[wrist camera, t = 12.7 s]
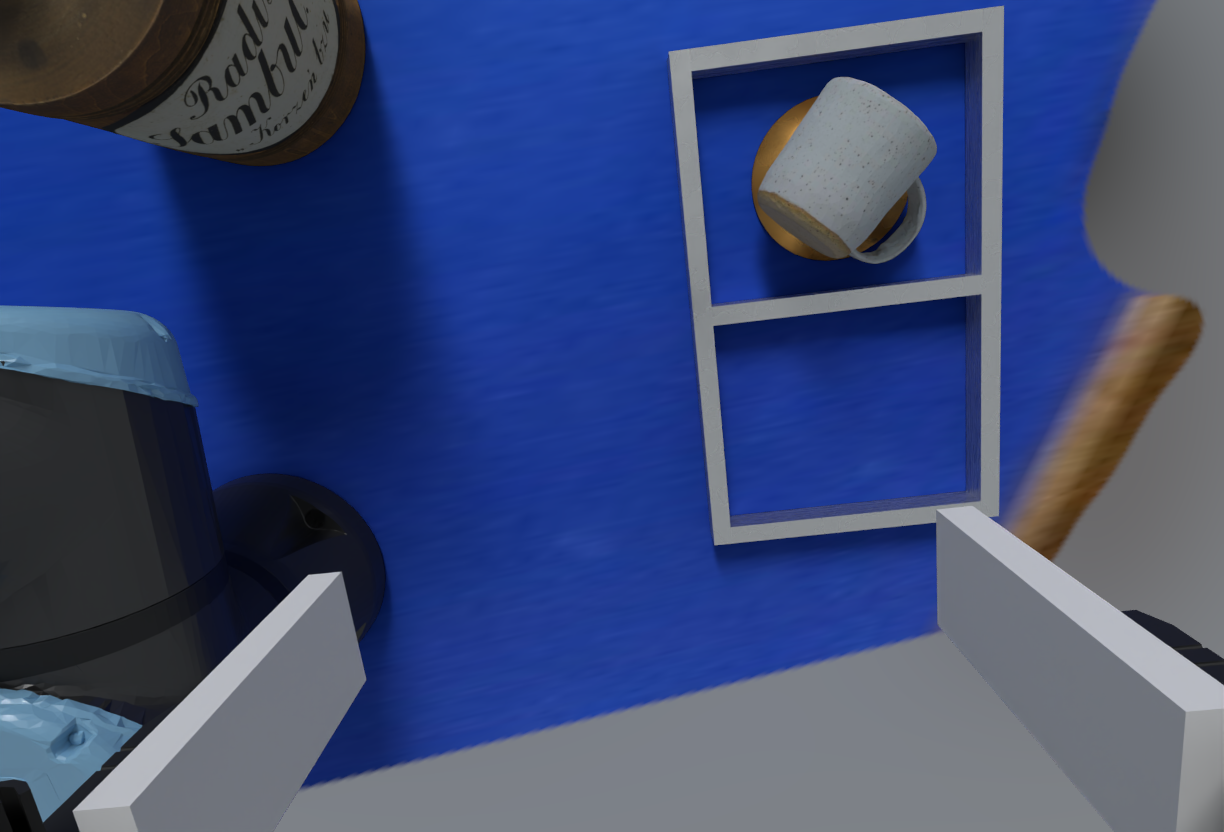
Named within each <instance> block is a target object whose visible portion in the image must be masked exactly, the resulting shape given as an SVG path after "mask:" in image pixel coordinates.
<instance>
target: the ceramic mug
mask: <svg viewBox="0 0 1224 832" xmlns="http://www.w3.org/2000/svg"><path fill="white" fill-rule="evenodd" d="M936 151H937V146H936V143H935V140H934V138H933V136H932V134H931V133H930V132H929V131H928V129H927V127H926V126H925V125H924V124H923V122H922V121H921V120H920V119H919V118H918V117H917V116H916V115H914V114H913V112H911V111H910V110H909V109H908V108H907V107H906V106H904V105H903V104H902V103H900V102H899V101H897V100H896V99H894V98H893V97H891V96H890V95H889V94H887V93H886V92H884V91H882V90H881V89H879V88H877V87H876V86H874V85H872V84H869V83H867V82H865V81H861V80H857V79H854V78H850V77H838V78H834V79H832V80H831V81H830V82H828V83H827V84H826V86H825V87H824V89H823V90H822V92H821V93H820V95H819V96H818V98H817V99H816V101H815V102H814V104H813V105H812V107H811V108H810V110H809V111H808V113H807V114H806V115H805V117H804V118H803V120H802V121H801V123H800V124H799V126H798V127H797V129H796V130H795V132H794V133H793V135H792V136H791V138H790V139H789V141H788V142H787V144H786V145H785V147H784V148H783V150H782V151H781V152H780V154H779V155H778V157H777V158H776V160H775V161H774V163H773V164H772V165H771V167H770V168H769V170H768V171H767V173H766V175H765V177H764V179H763V181H762V183H761V185H760V187H759V190H758V193H757V199H758V204H759V206H760V207H761V209H762V210H763V211H764V212H765V213H766V214H767V215H768V216H769V217H770V218H771V219H773V220H774V221H775V222H776V223H777V224H778V225H780V226H781V227H782V228H784V229H785V230H786V231H788V232H789V233H790V234H792V235H793V236H795V237H796V238H798V239H799V240H800V241H802V242H803V243H805V244H806V245H808V246H810V247H811V248H813V249H815V250H816V251H818V252H820V253H822V254H824V255H826V256H828V257H831V258H836V259H838V258H843V257H846V256H847V255H849V256H851V257H853V258H856V259H858V260H860V261H863V262H867V263H872V264H877V263H882V262H886V261H888V260H891V259H893V258H894V257H896V256H897V255H899V254H900V253H901V252H902V251H904V250H905V249H906V248H907V247H908V246H909V244H910V243H911V242H912V241H913V240H914V238H915V237H916V236H917V234H918V232H919V231H920V229H921V227H922V224H923V222H924V218H925V213H926V196H925V192H924V188H923V185H922V183H921V181H920V179H919V177H918V176H919V175H920V174H921V173H922V172H923V171H924V170H925V168H926V167H927V166H928V165H929V163H930V162H931V161H932V159H933V158H934V156H935V155H936ZM906 191H907V194H908V208H907V214H906V216H905V218H904V220H903V223H902V224H901V225H900V226H899V228H898V229H897V230H896V231H895V232H894V233H893V234H892V235H891V236H890V237H889V238H888V239H887V240H886V241H885V242H884V243H881V245H880V246H879V247H878V249H877V250H875V251H873V252H868V253H860V252H858V251H857V250H856V248H857V247H858V246H860V245H861V244H862V243H863V242H864V241H865V240H866V239H867V237H868V236H869V235H870V234H871V233H872V232H873V230H874V229H875V228H876V227H877V225H878V224H879V223H880V221H881V220H882V219H883V217H884V216H885V215H886V213H887V212H888V211H889V210H890V209H891V208H892V207H893V205H894V204H895V203H896V202H897V201H898V200H899V199H900V197H901V196H902V195H903V194H904V193H905V192H906Z"/></svg>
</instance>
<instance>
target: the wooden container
mask: <svg viewBox="0 0 1224 832" xmlns="http://www.w3.org/2000/svg"><path fill="white" fill-rule="evenodd" d="M364 63H365V35H364V27H363V21H362V16H361V11H360V8H359V4H358V2H357V0H0V107H2V108H6V109H10V110H14V111H19V112H23V113H28V114H33V115H38V116H44V117H50V118H58V119H65V120H68V121H72V122H76V123H79V124H83V125H87V126H91V127H94V128H98V129H102V130H106V131H109V132H113V133H116V134H120V135H123V136H127V137H130V138H133V139H137V140H140V141H144V142H147V143H151V144H155V145H158V146H162V147H165V148H169V149H173V150H177V151H181V152H185V153H189V154H193V155H198V156H203V157H209V158H213V159H217V160H222V161H226V162H231V163H236V164H242V165H250V166H270V165H278V164H283V163H287V162H291V161H294V160H297V159H299V158H301V157H303V156H306V155H307V154H309V153H311V152H312V151H314V150H315V149H317V148H318V147H320V146H321V145H322V144H324V143H325V142H326V141H327V140H328V139H330V138H331V137H332V136H333V135H334V133H335V132H336V131H337V130H338V129H339V128H340V126H341V125H342V124H343V122H344V121H345V119H346V118H347V116H348V114H349V113H350V111H351V109H352V107H353V105H354V103H355V101H356V98H357V96H358V93H359V89H360V86H361V81H362V76H363V70H364Z"/></svg>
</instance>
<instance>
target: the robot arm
mask: <svg viewBox="0 0 1224 832" xmlns="http://www.w3.org/2000/svg"><path fill="white" fill-rule="evenodd" d="M195 407H198V401H197V399H196V398H195V396H194V395H192V394H191V393H190V389H189V386H188V382H187V378H186V375H185V371H184V367H183V364H182V360H181V356H180V353H179V349H178V345H177V342H176V340H175V338H174V336H173V335H172V333H171V332H170V331H169V329H168V328H167V327H166V326H164V325H163V324H162V323H161V322H159V321H158V320H156V319H154V318H152V317H150V316H148V315H145V314H142V313H138V312H133V311H123V310H109V309H90V308H65V307H35V306H0V832H273V831H274V829H275V828H276V826H277V825H278V823H279V821H280V820H281V818H282V817H283V815H284V813H285V812H286V810H287V808H288V807H289V805H290V803H291V802H292V800H293V799H294V797H295V795H296V794H297V792H298V790H299V789H300V787H301V786H302V784H303V782H304V781H305V779H306V777H307V776H308V774H309V773H310V771H311V769H312V768H313V766H314V764H315V763H316V761H317V759H318V758H319V756H320V755H321V753H322V751H323V750H324V748H325V746H326V745H327V743H328V742H329V740H330V738H331V737H332V735H333V733H334V732H335V730H336V729H337V727H338V725H339V724H340V722H341V720H342V719H343V717H344V715H345V714H346V712H347V711H348V709H349V707H350V706H351V704H352V702H353V701H354V699H355V698H356V696H357V694H358V693H359V691H360V689H361V688H362V686H363V684H364V683H365V681H366V676H365V672H364V667H363V663H362V658H361V654H360V650H359V645H358V644H359V643H360V641H361V640H362V638H363V637H364V636H365V634H366V633H367V631H368V630H369V628H370V627H371V625H372V624H373V622H374V621H375V619H376V617H377V615H378V613H379V610H380V607H381V604H382V601H383V597H384V591H385V570H384V563H383V559H382V555H381V552H380V549H379V546H378V544H377V541H376V539H375V537H374V535H373V533H372V532H371V530H370V528H369V527H368V525H367V524H366V523H365V521H364V520H363V519H362V517H361V516H360V515H359V514H358V513H357V512H356V511H355V510H354V508H352V507H351V506H350V505H349V504H348V503H347V502H346V501H344V500H343V499H342V498H341V497H339V496H338V495H336V494H335V493H333V492H332V491H330V490H328V489H327V488H325V487H323V486H321V485H319V484H316V483H314V482H312V481H309V480H306V479H303V478H299V477H295V476H290V475H283V474H257V475H250V476H246V477H242V478H239V479H236V480H233V481H231V482H228V483H226V484H224V485H222V486H220V487H219V488H217V489H215V490H213V491H212V487H211V482H210V478H209V473H208V468H207V463H206V458H205V453H204V448H203V443H202V439H201V434H200V429H199V424H198V419H197V414H196V409H195ZM936 536H937V616H938V626H939V627H940V628H941V629H942V630H943V632H944V633H945V634H946V635H947V636H948V637H949V638H950V640H951V641H952V642H953V643H954V644H955V646H956V647H957V648H958V649H959V650H960V651H961V653H962V654H963V655H964V656H965V657H966V658H967V660H968V661H969V662H970V663H971V664H972V666H973V667H974V668H975V669H976V670H977V671H978V673H979V674H980V675H981V676H982V677H983V679H984V680H985V681H986V682H987V683H988V684H989V686H990V687H991V688H992V689H993V690H994V691H995V693H996V694H997V695H998V696H999V697H1000V698H1001V700H1002V701H1003V702H1004V703H1005V704H1006V706H1007V707H1008V708H1009V709H1010V710H1011V711H1012V713H1013V714H1014V715H1015V716H1016V717H1017V718H1018V720H1019V721H1020V722H1021V723H1022V724H1023V725H1024V727H1025V728H1026V729H1027V730H1028V731H1029V733H1030V734H1031V735H1032V736H1033V737H1034V738H1035V739H1036V741H1037V742H1038V743H1039V744H1040V745H1041V747H1042V748H1043V749H1044V750H1045V751H1046V752H1047V753H1048V755H1049V756H1050V757H1051V758H1052V759H1053V761H1054V762H1055V763H1056V764H1057V765H1058V767H1059V768H1060V769H1061V770H1062V771H1063V772H1064V773H1065V775H1066V776H1067V777H1068V778H1069V779H1070V781H1071V782H1072V783H1073V784H1074V785H1075V786H1076V788H1077V789H1078V790H1079V791H1080V792H1081V793H1082V795H1083V796H1084V797H1085V798H1086V799H1087V800H1088V802H1089V803H1090V804H1091V805H1092V806H1093V808H1094V809H1095V810H1096V811H1097V812H1098V813H1099V815H1100V816H1101V817H1102V818H1103V819H1104V820H1105V822H1106V823H1107V824H1108V825H1109V826H1110V828H1111V829H1112V830H1113V831H1114V832H1224V659H1223V658H1221V657H1220V656H1218V655H1217V654H1215V653H1214V652H1212V651H1211V650H1209V649H1208V648H1202V645H1201V644H1200V643H1199V642H1197V641H1196V640H1194V639H1193V638H1191V637H1190V636H1189V635H1187V634H1185V633H1184V632H1182V631H1181V630H1180V629H1178V628H1177V627H1175V626H1174V625H1172V624H1169V623H1167V622H1164V621H1162V620H1159V619H1157V618H1154V617H1152V616H1150V615H1147V614H1145V613H1142V612H1140V611H1137V610H1130V611H1119V610H1118V609H1116V608H1115V607H1113V606H1112V605H1111V604H1109V603H1108V602H1106V601H1105V600H1104V599H1102V598H1100V597H1099V596H1098V595H1097V594H1095V593H1094V592H1092V591H1091V590H1089V589H1088V588H1087V587H1085V586H1084V585H1083V584H1081V583H1080V582H1078V581H1077V580H1076V579H1074V578H1073V577H1071V576H1070V575H1068V574H1067V573H1066V572H1064V571H1063V570H1062V569H1060V568H1059V567H1057V566H1056V565H1055V564H1053V563H1052V562H1050V561H1049V560H1048V559H1046V558H1045V557H1043V556H1042V555H1041V554H1039V553H1038V552H1036V551H1035V550H1034V549H1032V548H1031V547H1029V546H1028V545H1027V544H1025V543H1024V542H1022V541H1021V540H1020V539H1018V538H1017V537H1015V536H1014V535H1013V534H1011V533H1010V532H1008V531H1007V530H1006V529H1004V528H1003V527H1001V526H1000V525H999V524H997V523H996V522H994V521H993V520H992V519H990V518H989V517H987V516H986V515H985V514H983V513H982V512H980V511H979V510H978V509H976V508H975V507H973V506H966V507H956V508H946V509H937V510H936Z"/></svg>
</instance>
